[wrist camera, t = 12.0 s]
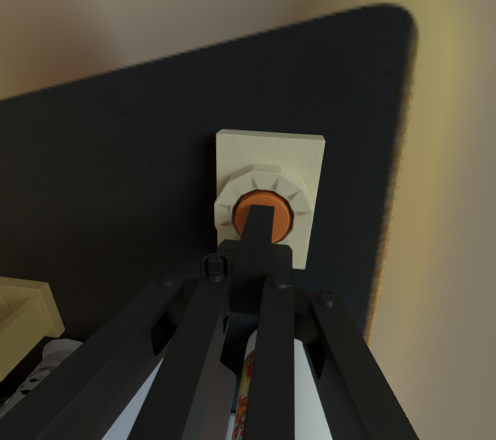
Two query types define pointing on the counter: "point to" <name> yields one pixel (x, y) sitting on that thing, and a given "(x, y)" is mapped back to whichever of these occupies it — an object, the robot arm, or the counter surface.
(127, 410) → the soap bottle
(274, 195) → the button
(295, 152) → the button block
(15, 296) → the bracket
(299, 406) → the milk bottle
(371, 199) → the counter surface
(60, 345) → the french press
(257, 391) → the robot arm
